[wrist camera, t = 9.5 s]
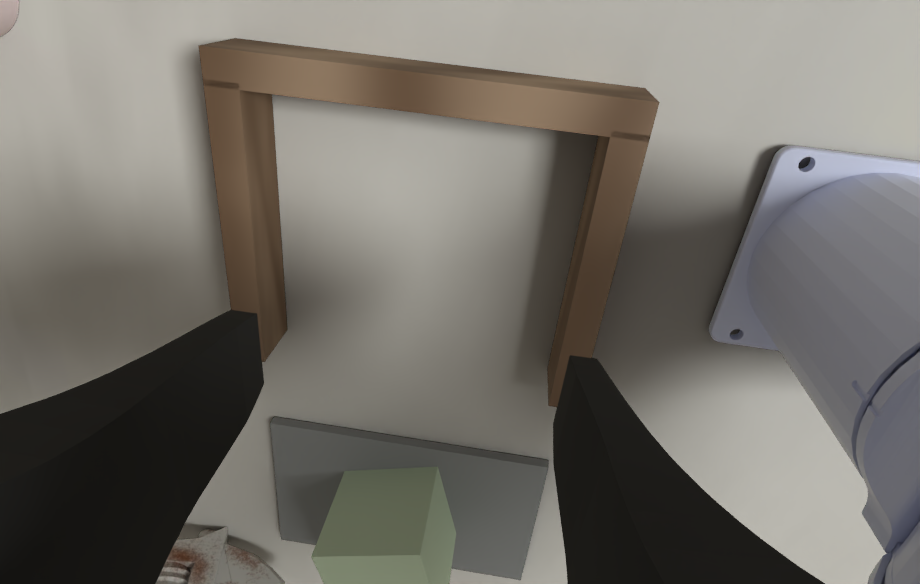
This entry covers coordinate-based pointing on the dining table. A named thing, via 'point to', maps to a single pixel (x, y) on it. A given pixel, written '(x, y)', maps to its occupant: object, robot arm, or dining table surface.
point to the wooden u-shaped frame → (422, 91)
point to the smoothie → (8, 14)
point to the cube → (387, 529)
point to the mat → (461, 468)
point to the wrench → (214, 563)
